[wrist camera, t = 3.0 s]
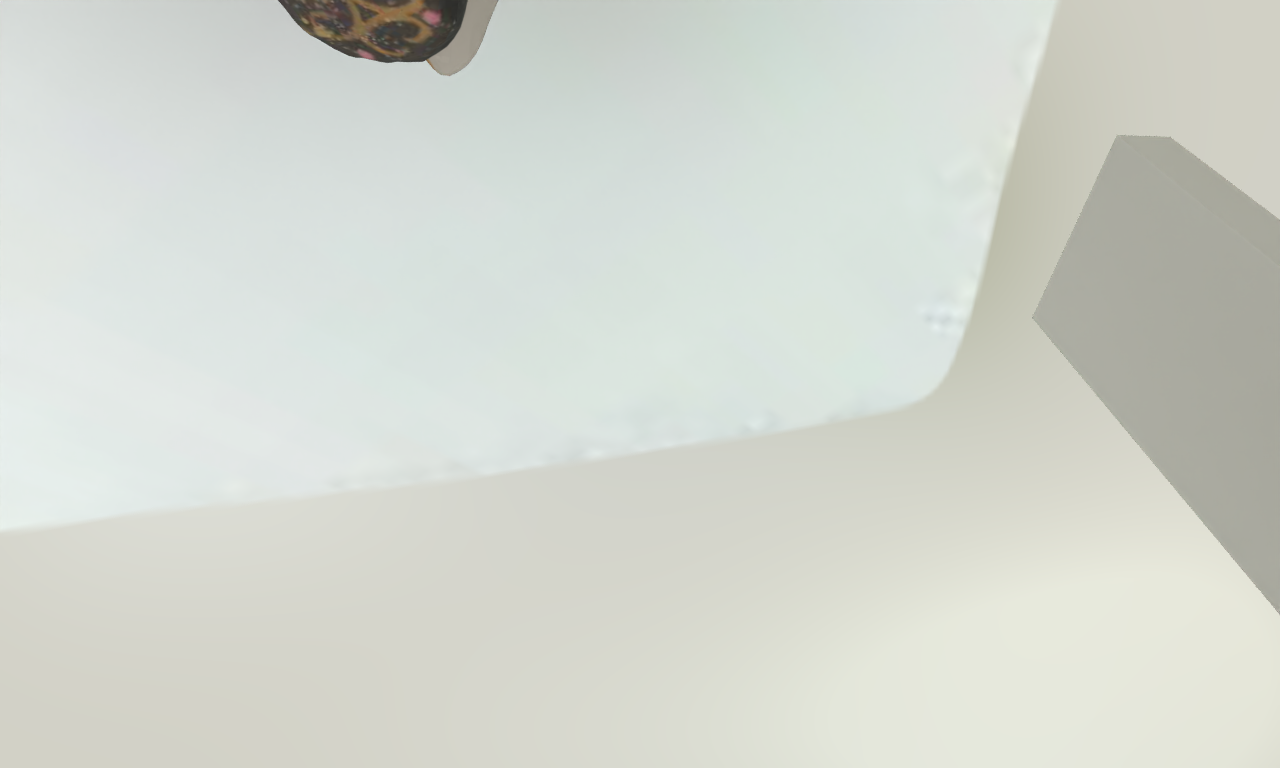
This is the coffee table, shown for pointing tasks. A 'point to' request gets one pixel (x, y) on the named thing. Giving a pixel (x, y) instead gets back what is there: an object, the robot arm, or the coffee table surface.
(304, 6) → the figurine
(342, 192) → the coffee table surface
